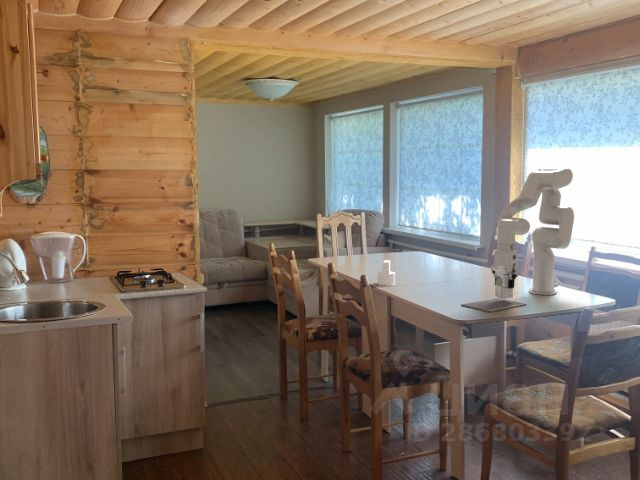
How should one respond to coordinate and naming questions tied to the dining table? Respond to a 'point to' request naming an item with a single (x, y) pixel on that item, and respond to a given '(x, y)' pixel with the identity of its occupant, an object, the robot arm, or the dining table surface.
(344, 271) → the dining table surface
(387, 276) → the base with upright slab
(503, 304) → the mat
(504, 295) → the syrup box
